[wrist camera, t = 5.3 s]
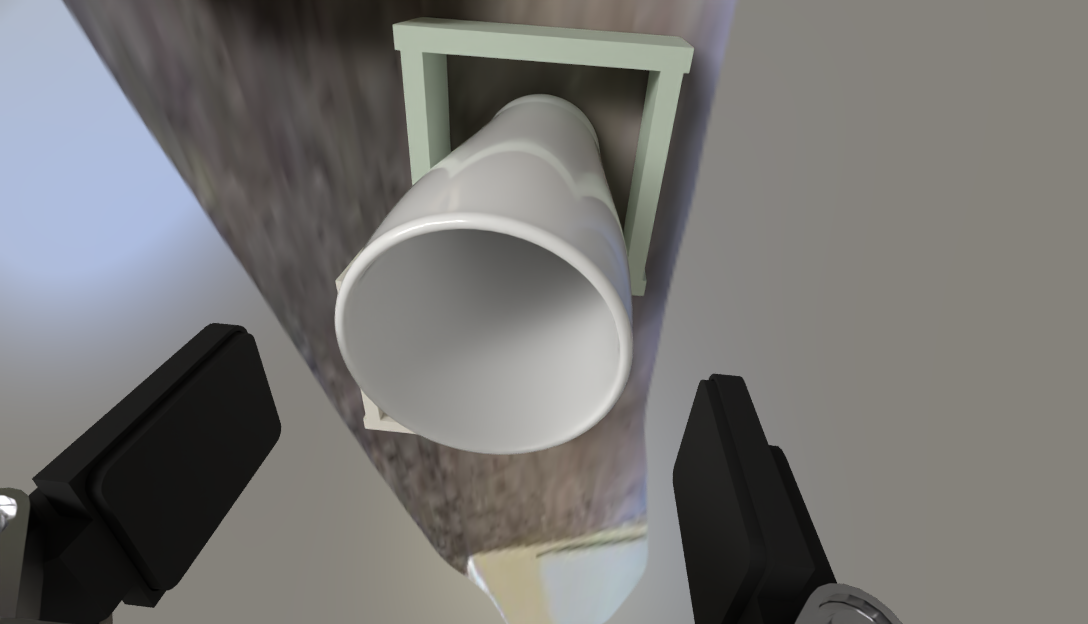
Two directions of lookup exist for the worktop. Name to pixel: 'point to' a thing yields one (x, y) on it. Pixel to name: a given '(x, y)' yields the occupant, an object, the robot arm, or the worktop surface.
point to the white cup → (497, 290)
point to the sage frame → (662, 55)
